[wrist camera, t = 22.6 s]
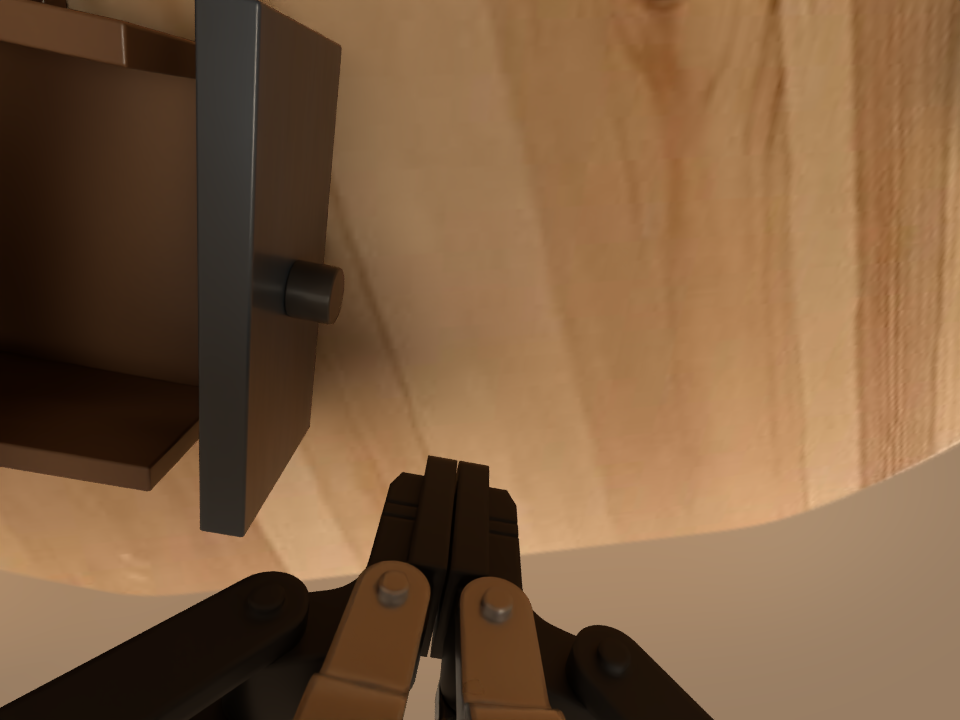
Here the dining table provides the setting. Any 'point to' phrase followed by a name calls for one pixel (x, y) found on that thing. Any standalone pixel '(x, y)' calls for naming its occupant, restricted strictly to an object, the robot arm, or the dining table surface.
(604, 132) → the dining table surface
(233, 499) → the drawer
